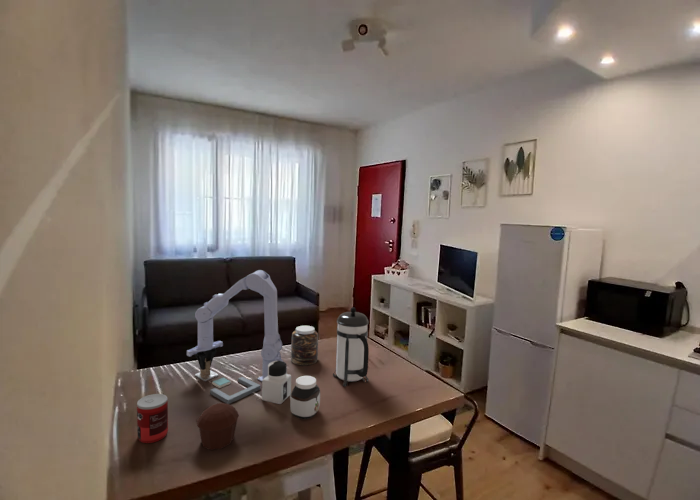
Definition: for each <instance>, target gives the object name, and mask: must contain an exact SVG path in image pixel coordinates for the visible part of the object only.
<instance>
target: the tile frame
mask: <svg viewBox="0 0 700 500" xmlns="http://www.w3.org/2000/svg"><path fill="white" fill-rule="evenodd" d="M237 382H238V383H239V384H241V385H243V386H246V387H247V388H244V389H242V390H240V391H238V392H235V393H233V394H231V395H229V394H228V393H225V392H224V391H222V390H220V389H219V388H217V387H214V388H211V389H209V394H210V395H211V396H213V397H215V398H217V399H218V400H220V401H222V403H226V404H230V405H231V404H233V403H234V402H236V401H239V400H241V399H243V398H245V397H247V396H249V395H251V394H253V393H255V392H258V391H260V390H261V388H262V384H259V383H256V382H254V381H252V380H251V379H248V378H246V377H244V376H240V377H238V378H237Z"/></svg>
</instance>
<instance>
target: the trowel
mask: <svg viewBox="0 0 700 500" xmlns="http://www.w3.org/2000/svg"><path fill="white" fill-rule="evenodd" d="M194 376H195V377H196V378H198V379H200V380H202V382H207V381H209V380H212V379H215V378H217V377H219V374H218V373H217V372H215V371H213V370H211V367H210V360H208V359H205V369H204V370H202V369H200V368H199V372H197V373H195V374H194ZM214 377H215V378H214Z"/></svg>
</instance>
